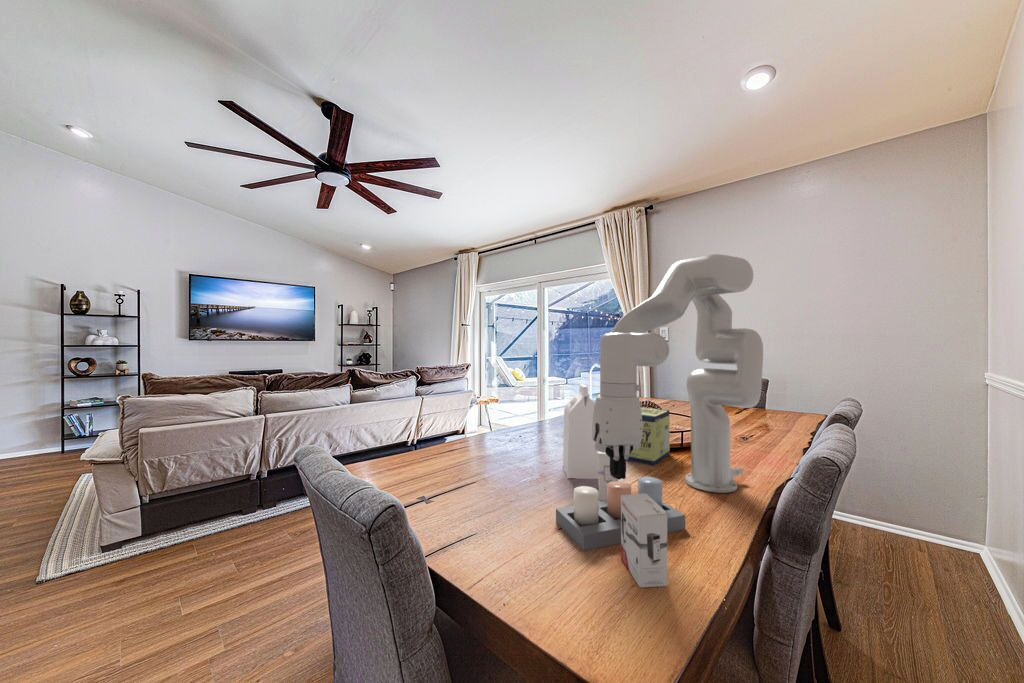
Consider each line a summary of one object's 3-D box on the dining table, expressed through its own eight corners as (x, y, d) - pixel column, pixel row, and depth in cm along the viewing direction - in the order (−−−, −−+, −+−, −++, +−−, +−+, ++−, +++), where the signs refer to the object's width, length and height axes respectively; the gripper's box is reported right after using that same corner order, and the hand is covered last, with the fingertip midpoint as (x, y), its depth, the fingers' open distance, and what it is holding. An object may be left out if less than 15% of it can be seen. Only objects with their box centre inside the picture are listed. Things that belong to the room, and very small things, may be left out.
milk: (608, 478, 108) (607, 387, 108) (567, 478, 108) (567, 388, 108) (598, 464, 120) (598, 383, 120) (562, 465, 120) (562, 383, 120)
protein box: (622, 459, 125) (622, 412, 125) (640, 449, 137) (640, 406, 136) (654, 466, 118) (654, 416, 118) (670, 454, 130) (670, 409, 130)
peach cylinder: (622, 507, 83) (621, 480, 83) (636, 517, 79) (636, 488, 79) (602, 510, 82) (602, 483, 82) (616, 521, 77) (615, 491, 77)
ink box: (619, 557, 68) (619, 493, 68) (645, 556, 69) (645, 492, 69) (639, 589, 60) (639, 515, 60) (669, 587, 60) (668, 513, 60)
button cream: (590, 512, 81) (590, 484, 81) (603, 523, 76) (603, 493, 76) (569, 516, 79) (569, 488, 79) (581, 527, 74) (581, 497, 74)
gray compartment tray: (647, 505, 90) (646, 493, 90) (685, 529, 78) (685, 514, 78) (555, 522, 82) (555, 508, 82) (583, 551, 71) (583, 535, 71)
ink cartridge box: (597, 487, 101) (596, 432, 101) (616, 488, 100) (616, 433, 100) (598, 500, 93) (597, 441, 93) (618, 502, 92) (618, 441, 92)
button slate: (651, 502, 86) (651, 475, 86) (667, 511, 81) (667, 483, 81) (633, 505, 84) (633, 478, 84) (648, 514, 80) (648, 486, 80)
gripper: (636, 387, 86) (636, 468, 86) (578, 390, 81) (578, 475, 81) (659, 391, 79) (658, 479, 79) (597, 394, 74) (596, 487, 74)
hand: (617, 476), depth 80 cm, fingers closed
